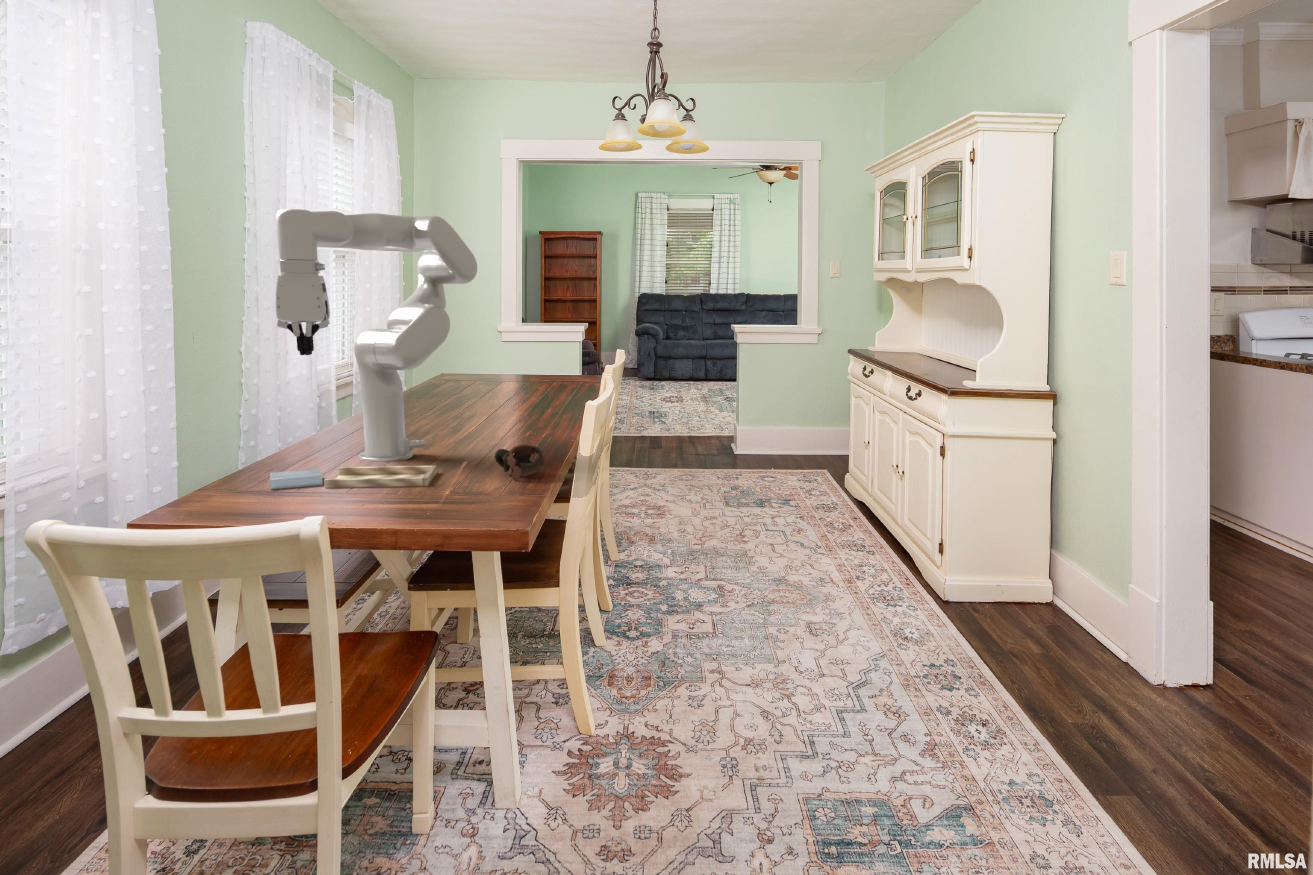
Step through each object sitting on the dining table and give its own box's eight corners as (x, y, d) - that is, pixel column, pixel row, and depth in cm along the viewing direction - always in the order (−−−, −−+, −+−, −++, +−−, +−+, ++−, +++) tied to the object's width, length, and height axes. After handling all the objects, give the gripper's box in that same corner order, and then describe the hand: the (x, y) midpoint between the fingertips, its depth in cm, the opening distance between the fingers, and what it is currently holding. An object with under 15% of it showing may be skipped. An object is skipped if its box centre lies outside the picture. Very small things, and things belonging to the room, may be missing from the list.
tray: (436, 475, 183) (436, 465, 183) (427, 488, 172) (426, 478, 171) (340, 476, 181) (340, 467, 181) (324, 490, 170) (323, 480, 169)
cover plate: (321, 482, 178) (320, 468, 178) (322, 489, 172) (321, 475, 172) (271, 486, 174) (270, 472, 174) (270, 494, 168) (269, 480, 168)
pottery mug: (549, 473, 188) (552, 446, 183) (534, 500, 181) (537, 473, 176) (500, 458, 189) (501, 431, 184) (483, 484, 182) (485, 457, 177)
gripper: (340, 269, 179) (346, 353, 182) (269, 269, 177) (276, 353, 181) (330, 269, 171) (336, 356, 175) (256, 268, 170) (264, 356, 173)
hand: (306, 354), depth 178 cm, fingers closed
